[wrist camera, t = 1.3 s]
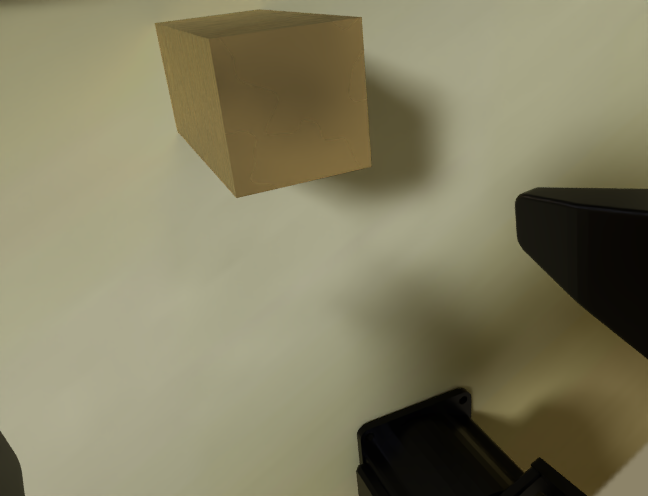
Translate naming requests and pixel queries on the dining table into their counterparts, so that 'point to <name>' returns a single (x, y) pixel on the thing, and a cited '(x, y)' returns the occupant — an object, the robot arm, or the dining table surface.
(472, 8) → the dining table surface
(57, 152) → the dining table surface
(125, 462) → the dining table surface
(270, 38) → the wooden peg
